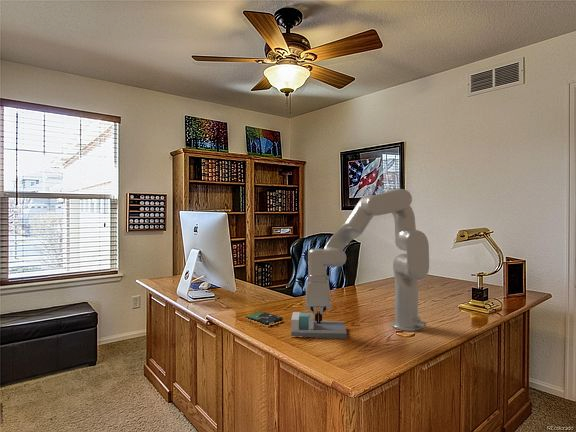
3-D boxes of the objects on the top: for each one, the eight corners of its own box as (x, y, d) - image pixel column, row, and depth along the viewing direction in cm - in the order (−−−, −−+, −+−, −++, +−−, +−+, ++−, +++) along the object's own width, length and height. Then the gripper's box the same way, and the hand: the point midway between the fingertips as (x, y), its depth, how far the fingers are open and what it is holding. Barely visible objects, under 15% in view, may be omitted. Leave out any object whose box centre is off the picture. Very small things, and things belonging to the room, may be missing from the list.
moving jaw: (313, 323, 155) (313, 313, 155) (313, 331, 145) (313, 320, 145) (309, 323, 155) (309, 313, 155) (308, 331, 146) (308, 320, 145)
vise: (344, 328, 155) (344, 312, 155) (346, 338, 143) (346, 320, 143) (293, 327, 157) (292, 311, 157) (291, 337, 145) (291, 320, 145)
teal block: (309, 325, 153) (308, 312, 153) (308, 329, 148) (308, 316, 148) (299, 325, 153) (299, 312, 153) (299, 329, 148) (298, 316, 148)
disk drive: (283, 323, 165) (260, 316, 175) (283, 317, 165) (260, 310, 175) (267, 329, 158) (244, 321, 167) (267, 322, 157) (244, 315, 167)
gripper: (335, 276, 153) (336, 319, 153) (299, 277, 154) (301, 320, 154) (336, 280, 145) (337, 325, 146) (299, 280, 146) (300, 325, 147)
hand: (318, 322), depth 150 cm, fingers closed
